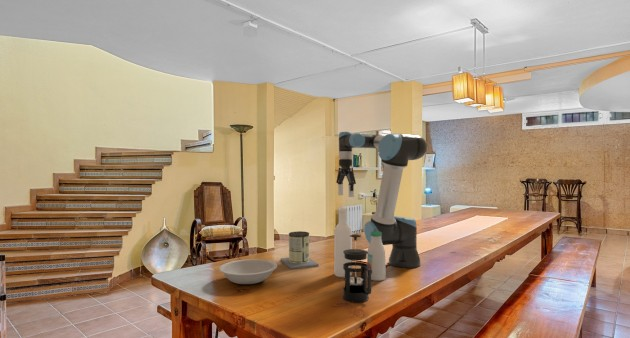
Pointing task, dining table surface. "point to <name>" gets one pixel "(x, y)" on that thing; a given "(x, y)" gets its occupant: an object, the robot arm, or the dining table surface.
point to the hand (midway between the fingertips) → (345, 196)
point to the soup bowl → (248, 270)
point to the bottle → (341, 243)
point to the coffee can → (298, 247)
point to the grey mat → (297, 266)
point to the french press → (352, 284)
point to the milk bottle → (376, 257)
